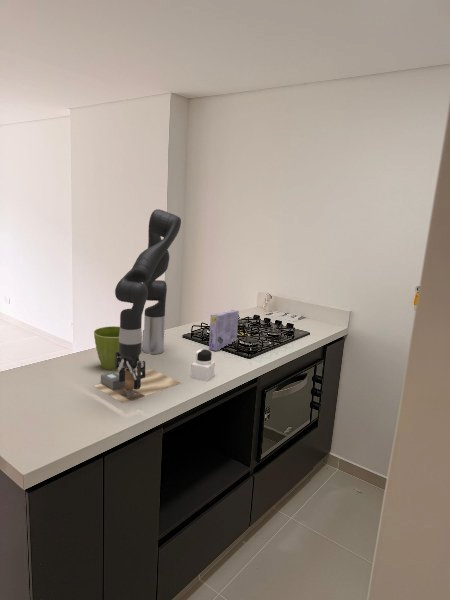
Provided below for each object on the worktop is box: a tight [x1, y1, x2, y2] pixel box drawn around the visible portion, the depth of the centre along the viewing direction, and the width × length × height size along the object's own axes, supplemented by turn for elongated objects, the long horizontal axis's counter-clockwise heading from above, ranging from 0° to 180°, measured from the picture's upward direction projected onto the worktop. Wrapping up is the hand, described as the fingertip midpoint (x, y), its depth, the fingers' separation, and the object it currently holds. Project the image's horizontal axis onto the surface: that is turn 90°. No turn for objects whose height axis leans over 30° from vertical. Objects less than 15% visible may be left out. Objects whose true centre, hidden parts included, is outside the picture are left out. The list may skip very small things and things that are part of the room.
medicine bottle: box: [190, 348, 216, 382], centre depth 163 cm, size 7×7×12 cm
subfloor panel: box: [93, 368, 182, 404], centre depth 152 cm, size 18×26×2 cm
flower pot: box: [93, 326, 120, 371], centre depth 166 cm, size 15×15×16 cm
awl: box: [125, 368, 136, 396], centre depth 143 cm, size 3×3×10 cm
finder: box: [100, 371, 125, 390], centre depth 150 cm, size 8×5×3 cm, turn 46°
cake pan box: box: [208, 309, 240, 352], centre depth 205 cm, size 19×5×18 cm, turn 144°
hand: (129, 384), depth 143 cm, fingers open, 8 cm apart
